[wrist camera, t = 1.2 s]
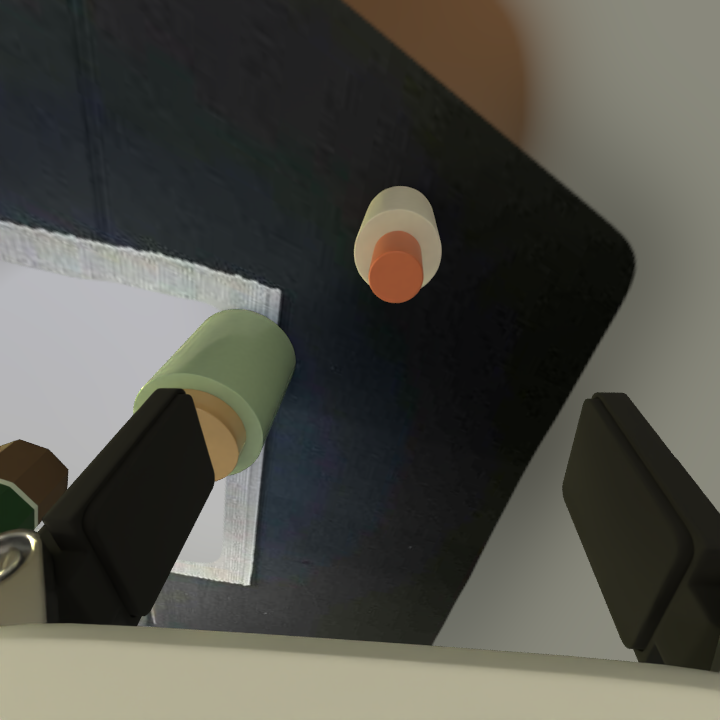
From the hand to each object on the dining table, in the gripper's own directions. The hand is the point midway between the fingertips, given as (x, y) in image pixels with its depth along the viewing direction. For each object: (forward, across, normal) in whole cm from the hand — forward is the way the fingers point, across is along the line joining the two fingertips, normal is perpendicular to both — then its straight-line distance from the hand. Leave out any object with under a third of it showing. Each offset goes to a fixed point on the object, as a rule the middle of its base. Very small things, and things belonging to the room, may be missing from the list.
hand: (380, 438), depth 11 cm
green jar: (+20, +12, +9) cm, 25 cm away
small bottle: (+20, 0, -1) cm, 20 cm away
